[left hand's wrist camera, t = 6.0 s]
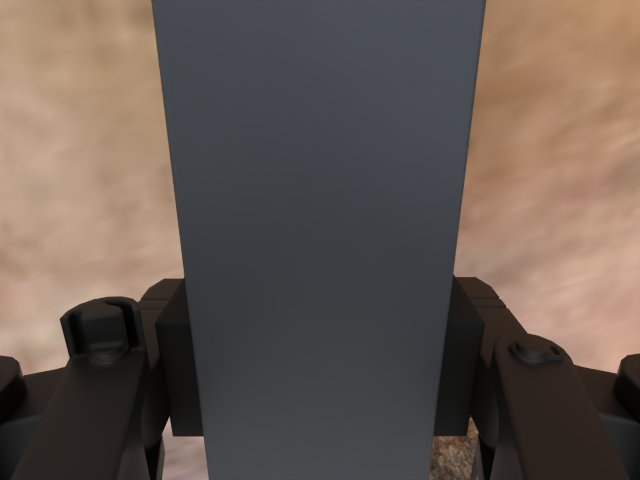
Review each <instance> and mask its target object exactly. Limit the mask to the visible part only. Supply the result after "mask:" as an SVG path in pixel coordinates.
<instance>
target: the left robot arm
mask: <svg viewBox="0 0 640 480" xmlns="http://www.w3.org/2000/svg"><path fill="white" fill-rule="evenodd" d="M60 322H61V326H62V330H63V333H64V337H65V341H66V345H67V349H68V353H69V357H70V359H69V361H68V363H67V365H66V367H63V368H59V369H55V370H50V371H45V372H39V373H34V374H29V375H24V376H23V373H22V370H21V367H20V364H19V362H18V361H17V360H15V359H14V358H13V357H7V356H0V480H162V473H163V465H164V457H165V449H164V443H163V437H162V432H163V430H164V428H165V426H166V423H167V421H168V419H169V416H170V421H171V427H172V433H173V436H204V434H203V426H202V417H201V409H200V401H199V392H198V384H197V376H196V367H195V359H194V351H193V342H192V334H191V326H190V317H189V309H188V301H187V292H186V284H185V277H184V279H163V280H161V281H160V282H158V283H156V284H155V285H153V286H152V287H150V288H149V289H148V290H147V291H146V293H145V294H144V295H143V297H142V298H141V301H139V302H136V301H135V300H134V299H131V298H127V297H104V298H99V299H94V300H91V301H88V302H85V303H82V304H79V305H77V306H76V307H74V308H72V309H70V310H69V311H67V312H66V313H65V314H64V315H63V316H62V317H61V318H60ZM470 415H471V417H472V419H473V422H474V424H475V426H476V429H477V431H478V437H477V443H476V449H475V454H474V460H473V466H472V471H471V478H470V480H476V479H477V473H478V480H640V354H633V355H627V356H626V357H625V358H624V359H622V360H621V363H620V366H619V369H618V372H617V374H616V373H611V372H605V371H600V370H595V369H590V368H585V367H581V366H577V365H574V364H573V362H572V360H571V358H570V356H569V355H568V354H567V353H566V352H565V350H564V349H563V348H561V347H560V346H558V345H557V344H555V343H554V342H552V341H550V340H547V339H545V338H543V337H540V336H537V335H532V334H528V333H527V332H526V331H525V329H524V328H523V327H522V326H521V324H520V323H519V322H518V321H517V319H516V318H515V317H514V315H513V314H512V313H511V312H510V310H509V309H508V308H506V305H505V304H504V303H503V301H502V300H501V299H499V296H498V295H497V294H496V293H495V291H494V290H493V289H492V287H491V286H489V285H488V284H486V283H484V282H483V281H481V280H479V279H478V278H476V277H455V276H454V274H453V279H452V287H451V295H450V304H449V312H448V320H447V328H446V337H445V345H444V353H443V362H442V370H441V378H440V386H439V395H438V403H437V411H436V420H435V428H434V436H467V431H468V425H469V419H470Z"/></svg>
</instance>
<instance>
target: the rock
mask: <svg viewBox="0 0 640 480" xmlns="http://www.w3.org/2000/svg"><path fill="white" fill-rule="evenodd" d="M477 437H478V431H477V429H476V426H475V424H474V422H473V419H472V418H470V419H469V425H468V431H467V436H433V444H432V453H431V461H430V469H429V478H428V480H470V478H471V471H472V466H473V460H474V454H475V449H476V443H477ZM476 480H478V473H477V479H476Z"/></svg>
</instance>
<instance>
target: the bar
mask: <svg viewBox="0 0 640 480" xmlns="http://www.w3.org/2000/svg"><path fill="white" fill-rule="evenodd" d="M151 1H152V9H153V17H154V26H155V34H156V42H157V51H158V59H159V67H160V76H161V84H162V92H163V101H164V109H165V117H166V126H167V134H168V142H169V151H170V159H171V167H172V176H173V184H174V192H175V201H176V209H177V217H178V226H179V234H180V242H181V251H182V259H183V267H184V276H185V284H186V292H187V301H188V309H189V317H190V326H191V334H192V342H193V351H194V359H195V367H196V376H197V384H198V392H199V401H200V409H201V417H202V426H203V434H204V442H205V451H206V459H207V467H208V476H209V480H428V478H429V469H430V461H431V453H432V444H433V436H434V428H435V420H436V411H437V403H438V395H439V386H440V378H441V370H442V362H443V353H444V345H445V337H446V328H447V320H448V312H449V304H450V295H451V287H452V279H453V270H454V262H455V254H456V246H457V237H458V229H459V221H460V212H461V204H462V196H463V188H464V179H465V171H466V163H467V154H468V146H469V138H470V129H471V121H472V113H473V105H474V96H475V88H476V80H477V71H478V63H479V55H480V47H481V38H482V30H483V22H484V13H485V5H486V0H151Z"/></svg>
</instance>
